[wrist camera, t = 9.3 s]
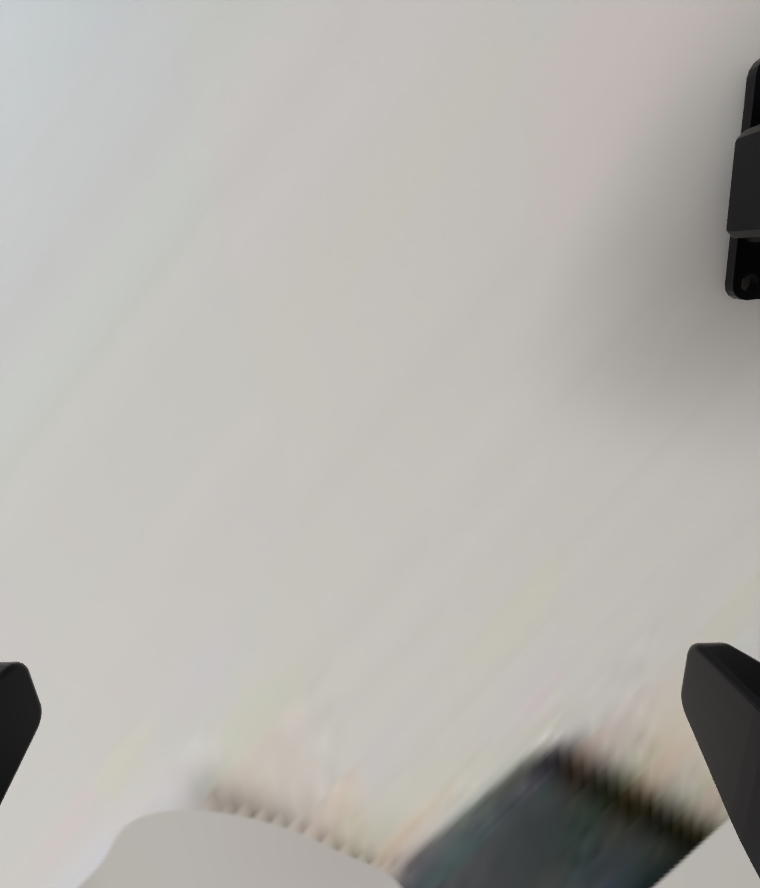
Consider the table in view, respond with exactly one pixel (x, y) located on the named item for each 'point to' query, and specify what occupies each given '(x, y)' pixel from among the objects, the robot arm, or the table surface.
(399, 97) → the table surface
